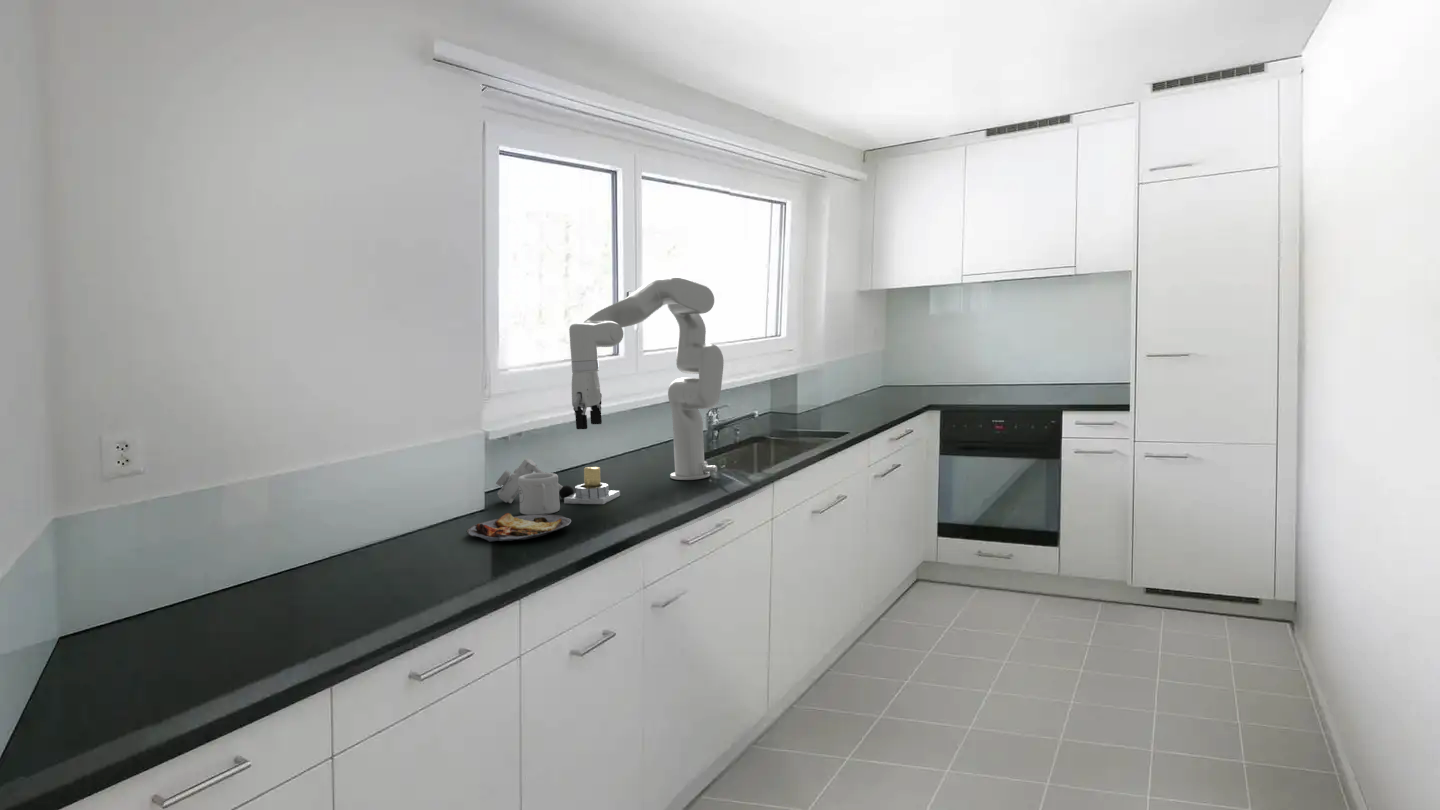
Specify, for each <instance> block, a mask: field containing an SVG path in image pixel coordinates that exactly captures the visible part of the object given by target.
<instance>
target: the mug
mask: <svg viewBox="0 0 1440 810" xmlns="http://www.w3.org/2000/svg"><path fill="white" fill-rule="evenodd" d="M558 483H559V475H558V474H557V473H553V472H544V473H535V472H533V473H532V474H526V475H522V476H520V477H519V478H518V484H519V493H518V500H519V512H520V514H522V515H524V516H525V515H544V516H546V515H552V514H555V513H557V512H558V511H560V510H561V509H560V508H561V504H560V502H561V501H560V494H559V491H560V490H558Z"/></svg>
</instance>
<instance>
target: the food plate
mask: <svg viewBox="0 0 1440 810" xmlns="http://www.w3.org/2000/svg"><path fill="white" fill-rule="evenodd" d="M571 522H572V519H571V518H568V517H566V516H562V515H561V514H560V515H559V514H545V515H524V514H522V515H518V516H516V515H515V516H514V515H512V513H510V512H506V513H504V515H501V516H500V517H499V518H495V519H491V520H487V521H483V522H479V523H477V524H476V523H475V524H473V525H472V526H470V527H469V528H468V529H466V531H465V532H466V534H467V535H468V536H469V537H478V538H481V539H484V540H486V541H488V542H489V543H490V542H497V541H498V542H505V541H506V542H507V541H509V542H510V541H511V542H512V541H522V540H525V541H526V540H529V539H530V540H531V539H535V538H539V537H542V536H546V535H548V534H551V533H553V532H555V531H558V530H561V529H563V528H564V527H567V526H569V525H570V524H571Z"/></svg>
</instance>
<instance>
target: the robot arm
mask: <svg viewBox="0 0 1440 810" xmlns="http://www.w3.org/2000/svg"><path fill="white" fill-rule="evenodd" d="M714 295H715V294H714V292H713V290H711V289H710V288H709V287H708V286H707V285H704V284H702V283H699V282H695V281H693V280H690V279H688V278H685V277H681V276H676V275H671V276H669V275H668V276H657V277H654V278H651V279H650V280H649V281H647V282H646V283H644V284H643V285H642V286H641V287H638V288H637V289H636V290H635V291H633V292H632V293H631V294H629V295H628V296H627V297H626V298H623V299H621V300H619V301H617V302H615V303H613V304H611V305H608V306H606V307H604V308H602V309H600V310H598V311H596V312H595V313H594V314H592V315H591V316H589V318H586V319H585V320H584V322H582V323H581V322H580V323H573V324H571V325H570V326H569V329H568V330H569V331H568V332H569V343H570V344H569V346H570V361H571V372H572V376H571V405H572V407H573V409H572V410H573V411H574V416H575V426H576V430H587V429H588V418H587V417H588V416H587V414H586V411H587V408H590V410H589V412H590V413H589V415H590V424H591V425H602V421H603V420H602V406H601V405H602V398H603V397H602V393H601V385H600V378H599V371H600V368H599V367H600V366H599V357H598V356H599V354H598V353H599V352H598V348H612V347H613V348H614V347H615V346H617V345H619V344H620V343H621V342H622V340H623V338H624V330H623V328H626V327H631V326H635V325H638V324H640V323H642V322H644V321H645V320H647V319H649V317H651V316H652V315H653V314H654V313H655V312H657V311H658V310H660V309H661V308H662V307H663V306H664V307H665V306H667V308H668V310H669V311H670V312H671V314H672V316H673V317H674V319H675V320H676V323H677V325H678V340H677V347H676V348H677V349H676V359H675V361H676V368H677V370H678V371H680V372H681V373H683V374H690V375H691V374H692V375H698V378H697V377H680V378H676V379H675V380H673V381H671V383H670V384H669V387H668V390H667V396H668V402H669V406H670V410H671V417H672V418H671V419H672V433H673V434H672V436H673V457H674V458H673V459H674V460H673V461H674V472H671V473H670V474H669V476H670V479H672V480H679V481H694V480H702V479H706V478H709V477H710V476H711V473H717V472H718V466H717V465H709V464H708V461H705V445H704V424H703V423H704V422H703V417H702V415H701V412H700V411H699V410H710V409H713V408H714V407H716V406H717V404H718V402H719V400H720V399H721V398H720V397H721V392H722V383H723V374H724V373H723V372H724V364H725V363H724V356H723V352H722V350H721V349H720V347H718V346H717V345H716V344H713V343H706V334H707V333H706V332H707V331H706V328H707V327H706V325H705V321H704V319H703V318H702V316H701V315H702V314H706V313H709V312H710V311H711V310H712V309H713V308H714V304H715V296H714Z"/></svg>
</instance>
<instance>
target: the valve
mask: <svg viewBox="0 0 1440 810" xmlns="http://www.w3.org/2000/svg"><path fill="white" fill-rule="evenodd" d="M537 466H538V465H537V463H535V461H533V459H530V458H528V457H526V458H525V459H523V461H522V462H521V464H520V465H519V466H518V467H517V468H516V469H514V471H513V473H511V471H509V470H508V469H506V470H505V471H504V472H503V473H502V474H501V476H500V477H499V478H498V480H497V481H496V483H495V484H496V485H497V486H498V487H499V488H500V489H499V490H498V491H497V493H496V494H497V496H498V498H499V499H500V500H502V502H504V503H506V504H507V503H509V504H512V502H513V501H514V500H515V498H516V497H517V496H519V484H518V478H519V477H520V476H522V475H526V474H532V473H545V472H544V471H542V470H541V469H539V468H538V467H537ZM558 490H559V498H561V499H562V500H564V498H566V497H568V496H570V495H572V494H574V493H575V492H574V491H575V489H574V488H573V487H572V486H570V485H561V484H560V483H559V482H558Z"/></svg>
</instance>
